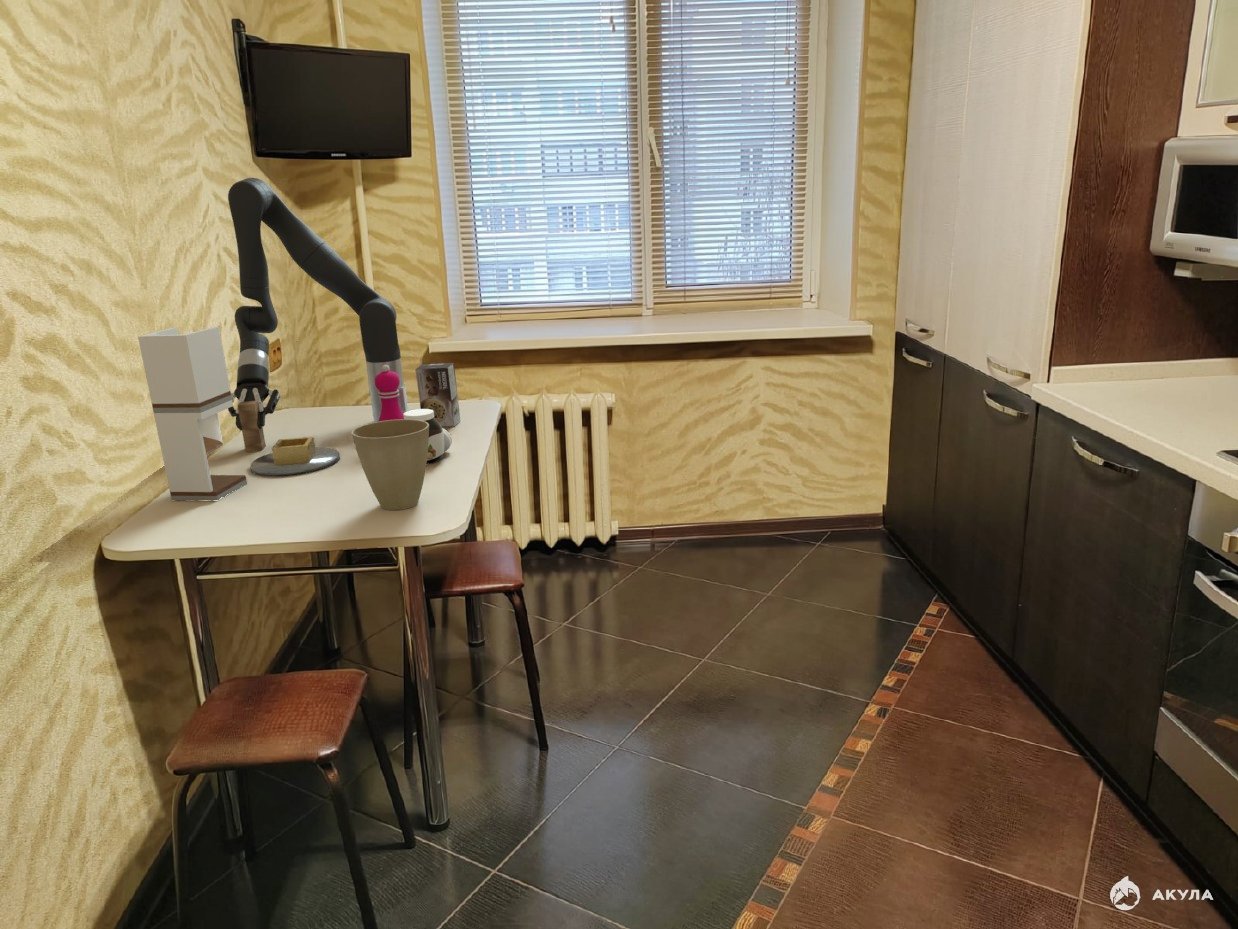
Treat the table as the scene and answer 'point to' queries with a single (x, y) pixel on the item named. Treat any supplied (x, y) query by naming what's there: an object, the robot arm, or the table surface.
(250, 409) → the tall tan wooden block
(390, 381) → the pepper mill
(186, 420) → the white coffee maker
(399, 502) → the plant pot
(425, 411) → the spread jar
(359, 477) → the table surface
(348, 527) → the table surface
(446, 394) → the coffee box
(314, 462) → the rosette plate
